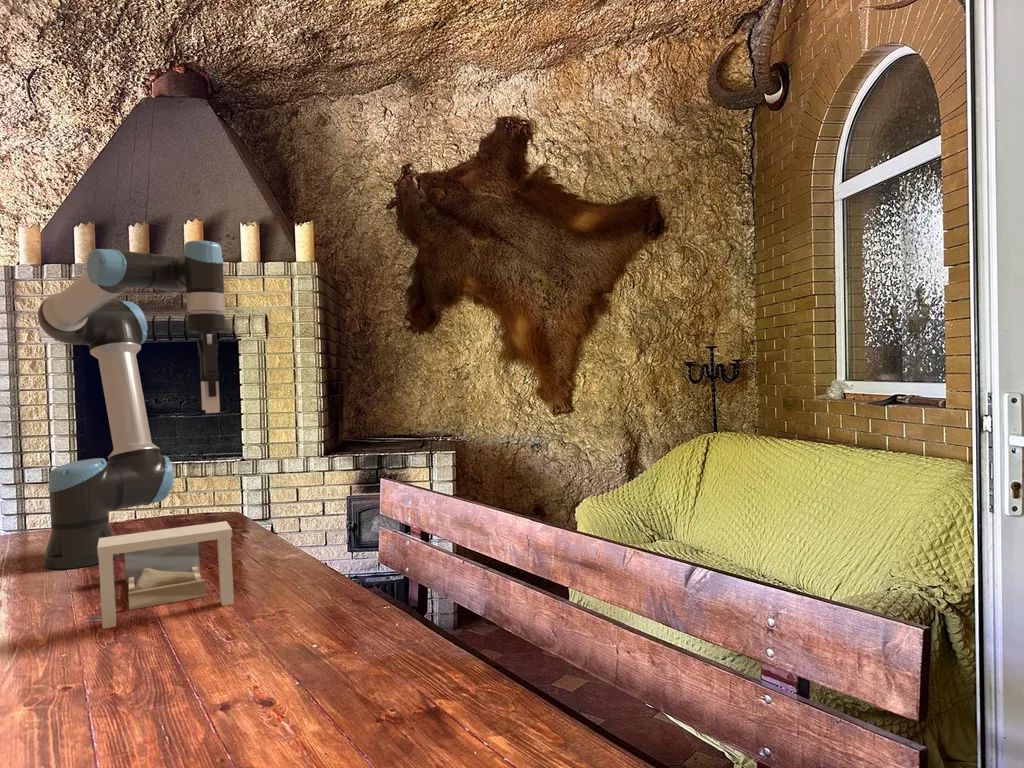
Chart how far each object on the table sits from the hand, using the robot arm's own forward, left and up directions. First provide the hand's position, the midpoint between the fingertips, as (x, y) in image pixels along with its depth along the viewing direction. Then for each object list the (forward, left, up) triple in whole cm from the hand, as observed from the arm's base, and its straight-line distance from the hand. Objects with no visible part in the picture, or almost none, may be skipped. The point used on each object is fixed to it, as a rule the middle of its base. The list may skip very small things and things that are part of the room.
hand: (210, 411), depth 151 cm
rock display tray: (+7, -11, -35) cm, 37 cm away
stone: (+12, -11, -35) cm, 38 cm away
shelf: (+25, -11, -35) cm, 44 cm away
